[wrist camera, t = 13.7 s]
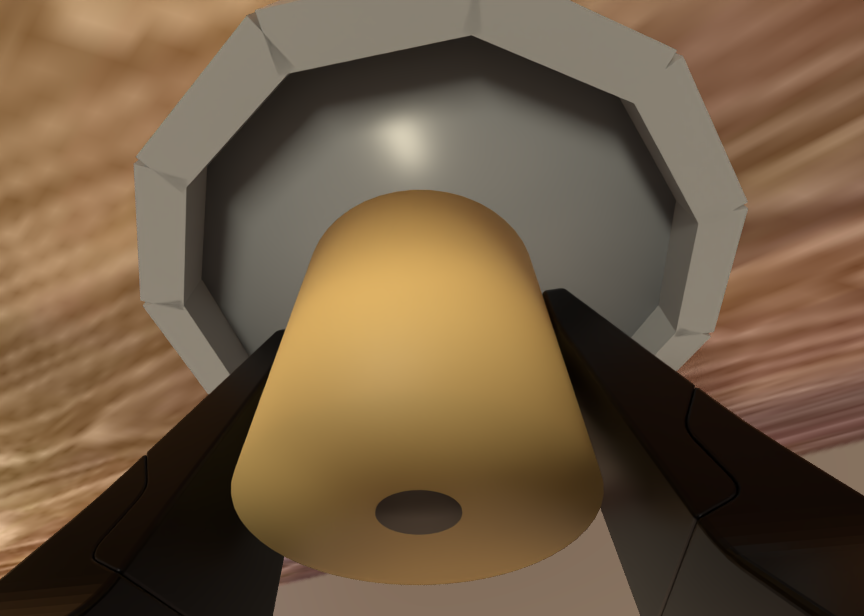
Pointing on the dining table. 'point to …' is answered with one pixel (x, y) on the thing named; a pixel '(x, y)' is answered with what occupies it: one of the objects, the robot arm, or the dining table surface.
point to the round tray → (436, 163)
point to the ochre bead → (418, 405)
